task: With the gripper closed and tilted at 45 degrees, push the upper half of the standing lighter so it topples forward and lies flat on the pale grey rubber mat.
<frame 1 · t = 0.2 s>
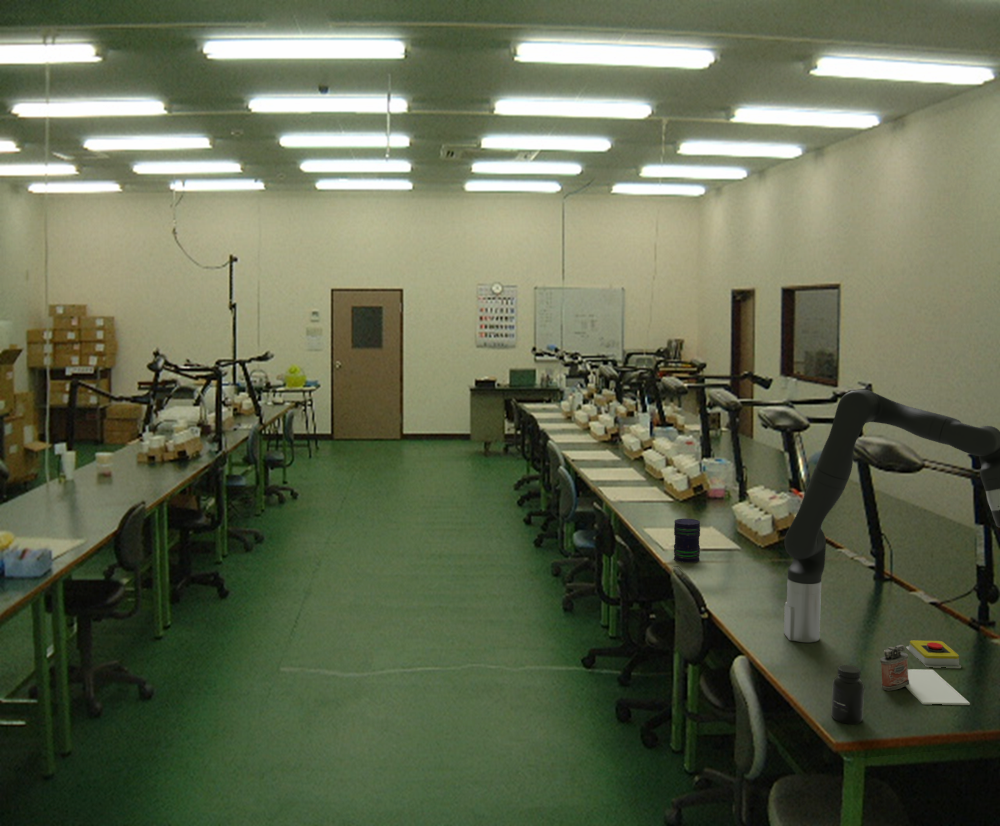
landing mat: (927, 687, 218), on the workbench
lighter: (895, 686, 218), on the workbench, touching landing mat
emergency button: (932, 659, 237), on the workbench
supplement bottle: (846, 719, 201), on the workbench
storage jar: (686, 559, 336), on the workbench
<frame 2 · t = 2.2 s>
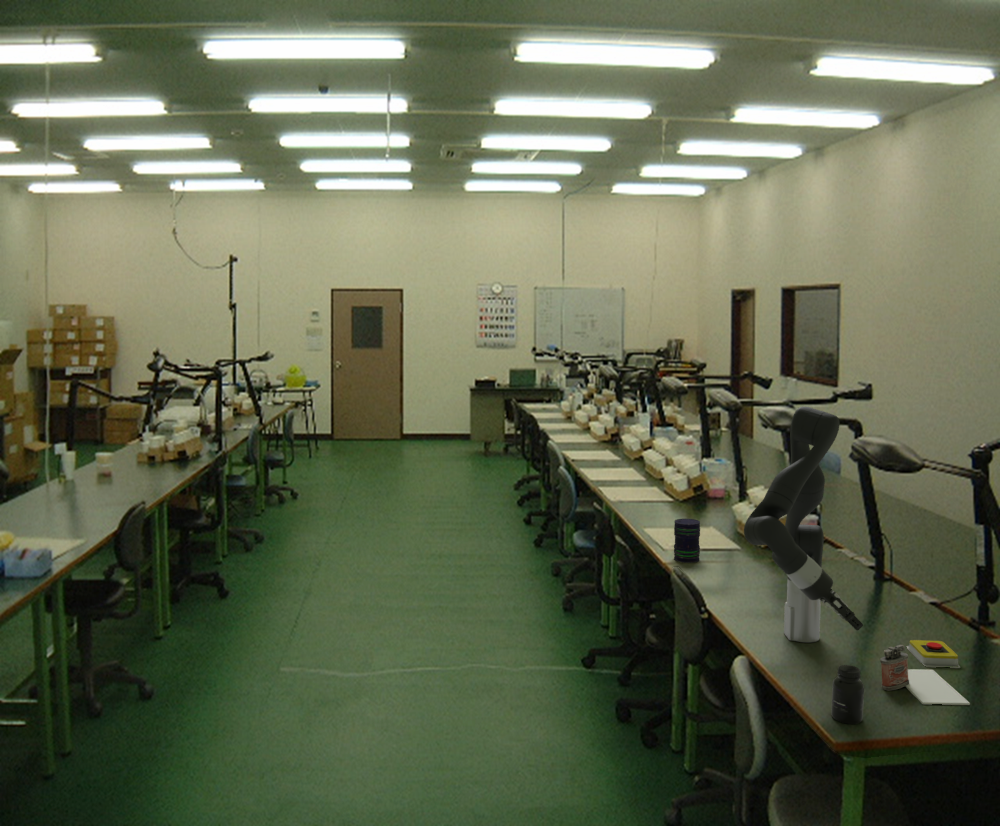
hand: (853, 621, 217), 17 cm above the workbench, tool tilted 45°, fingers open, 8 cm apart
nothing on the workbench moved.
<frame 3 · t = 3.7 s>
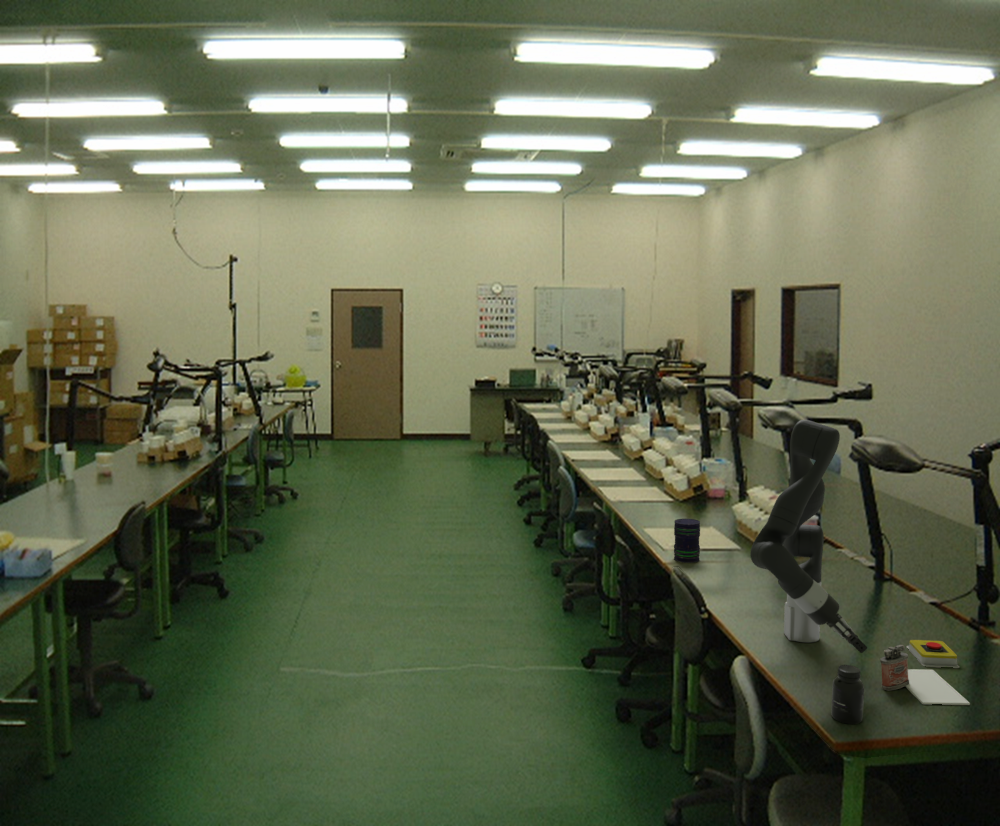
hand: (863, 649, 217), 10 cm above the workbench, tool tilted 45°, fingers closed
nothing on the workbench moved.
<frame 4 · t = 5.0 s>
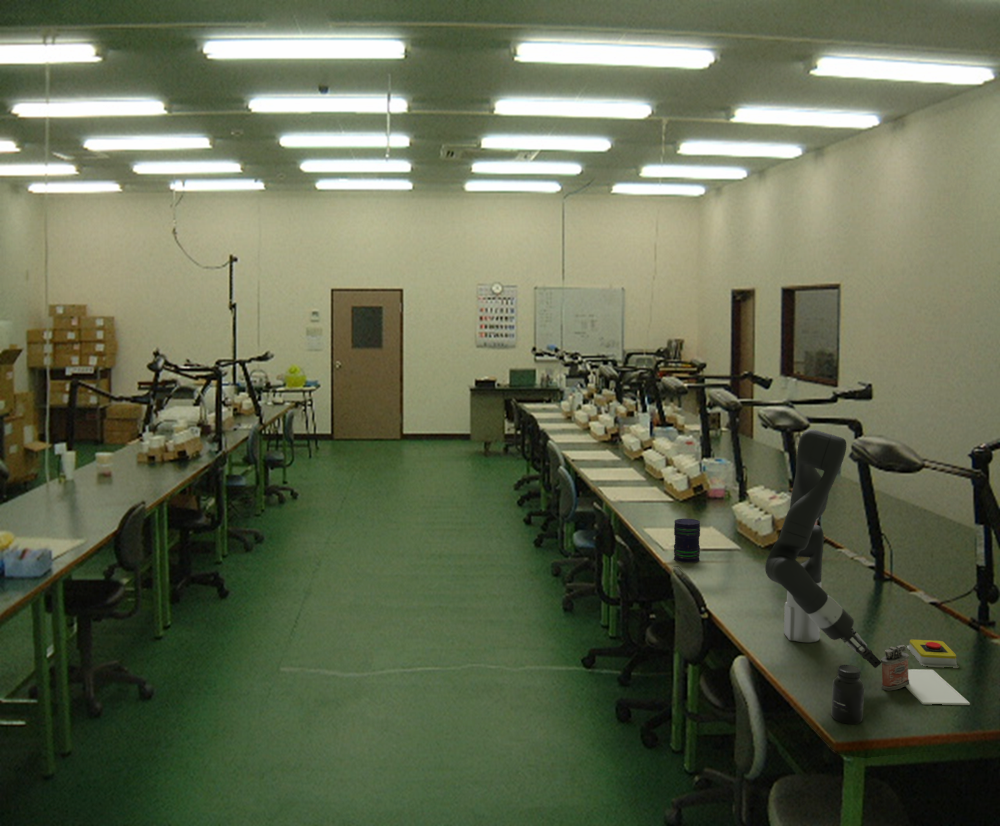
hand: (877, 664, 218), 6 cm above the workbench, tool tilted 45°, fingers closed
lighter: (895, 686, 218), on the workbench, touching gripper, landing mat
everything else where it was.
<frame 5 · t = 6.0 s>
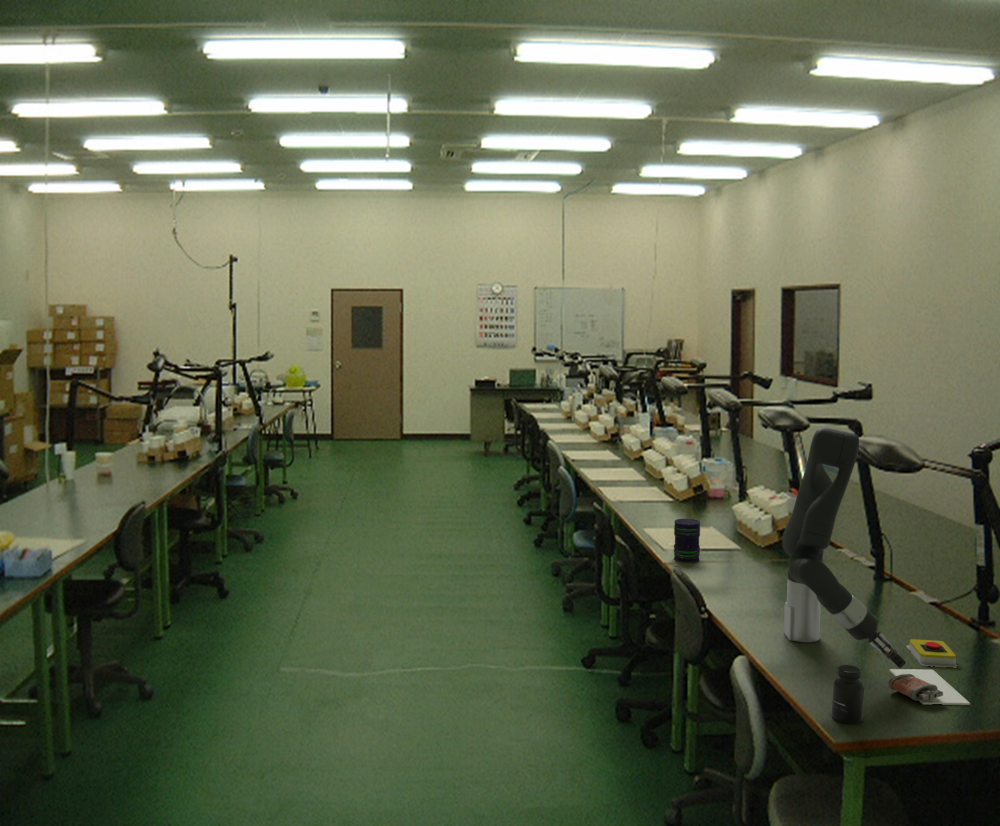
hand: (901, 664, 217), 6 cm above the workbench, tool tilted 45°, fingers closed
lighter: (899, 680, 216), point 2 cm above the workbench, touching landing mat
everything else where it was.
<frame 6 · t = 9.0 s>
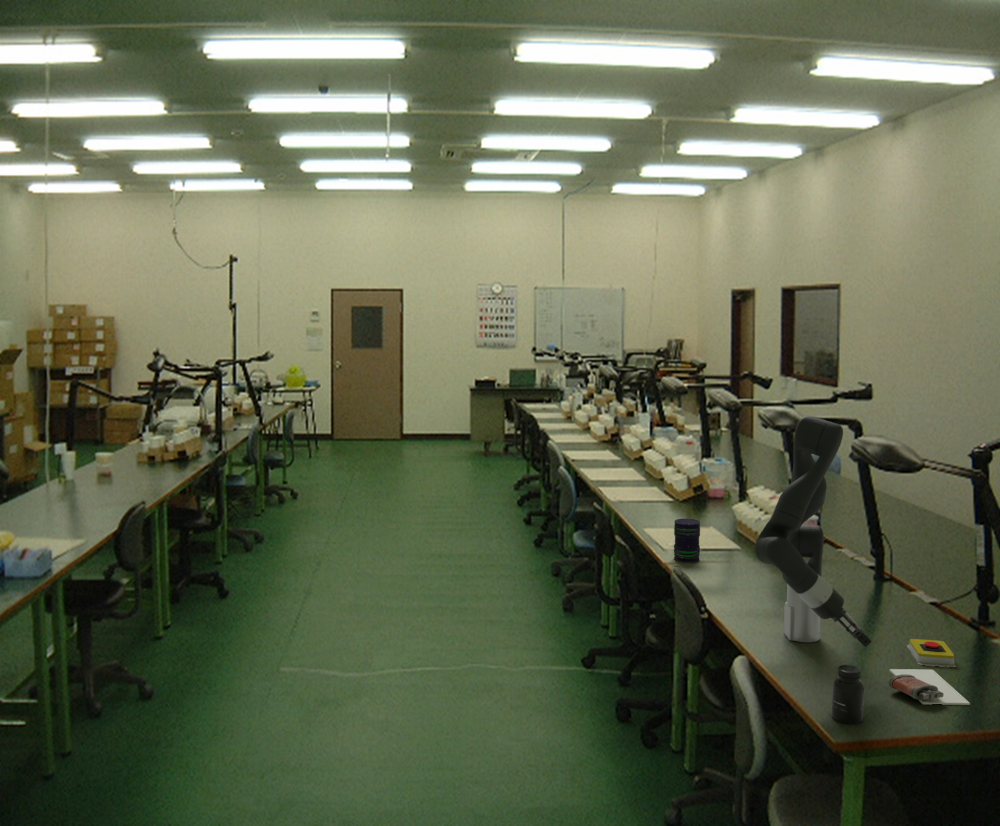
hand: (867, 643, 218), 11 cm above the workbench, tool tilted 45°, fingers closed
nothing on the workbench moved.
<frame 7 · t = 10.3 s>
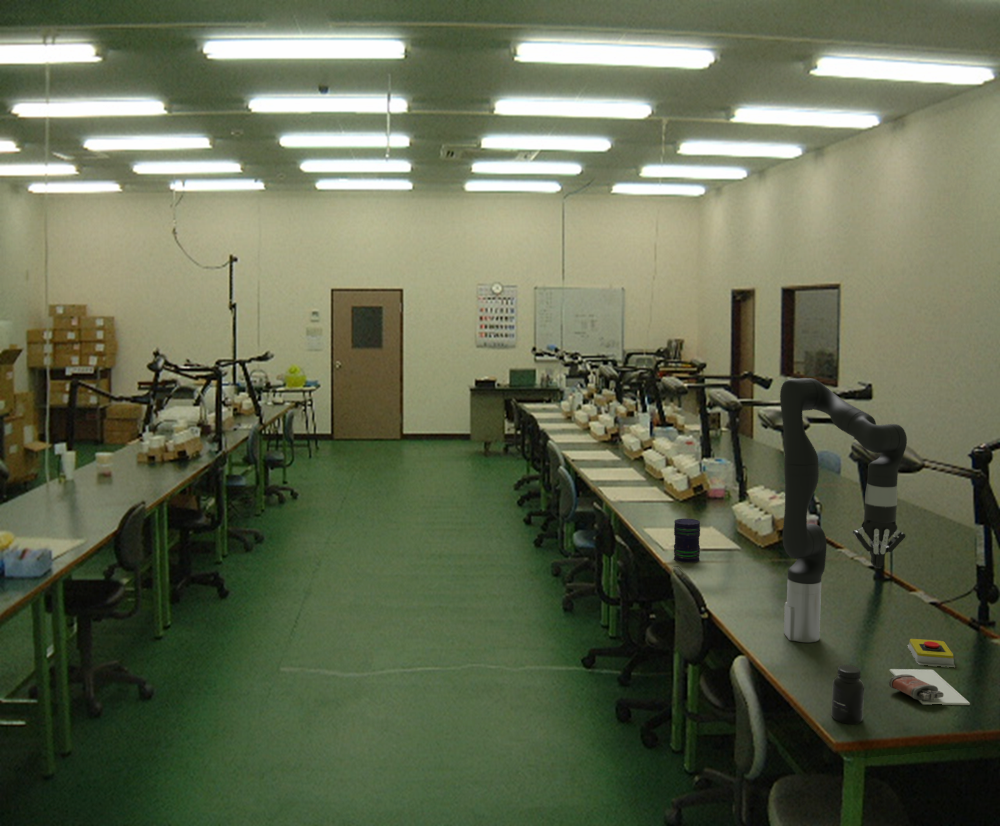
hand: (876, 566, 225), 28 cm above the workbench, tool pointing down, fingers closed
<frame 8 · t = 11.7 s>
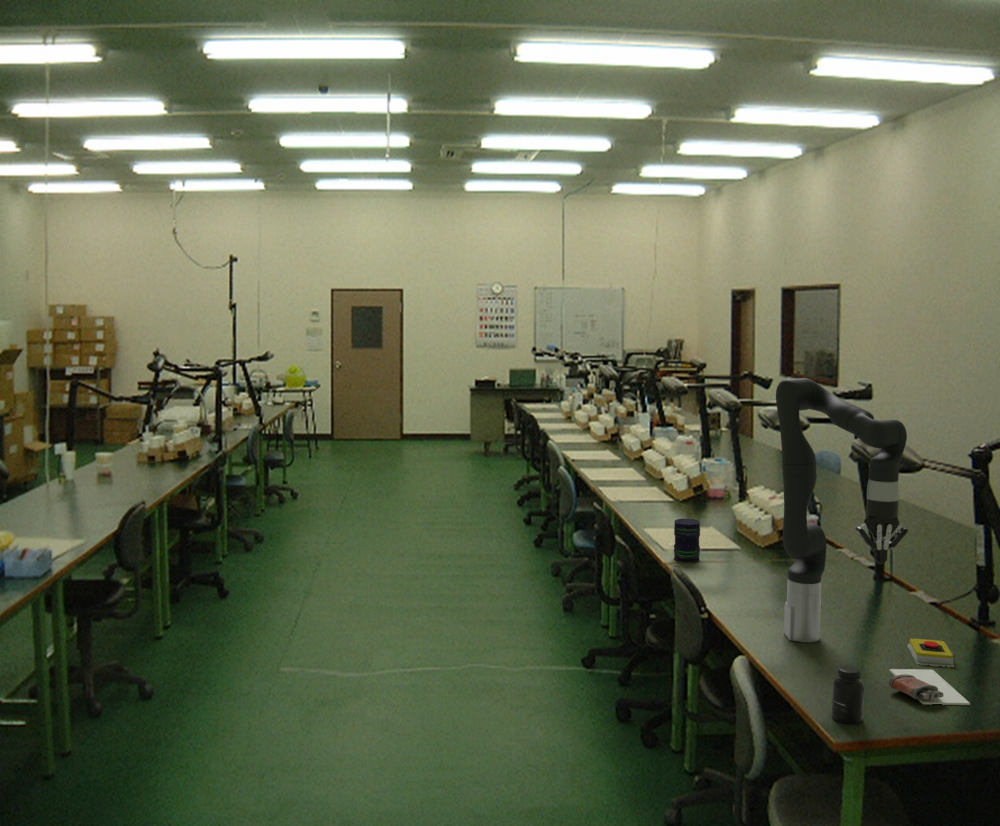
hand: (880, 563, 225), 29 cm above the workbench, tool pointing down, fingers closed
at the end: lighter tilted 90°; lighter touching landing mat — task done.
